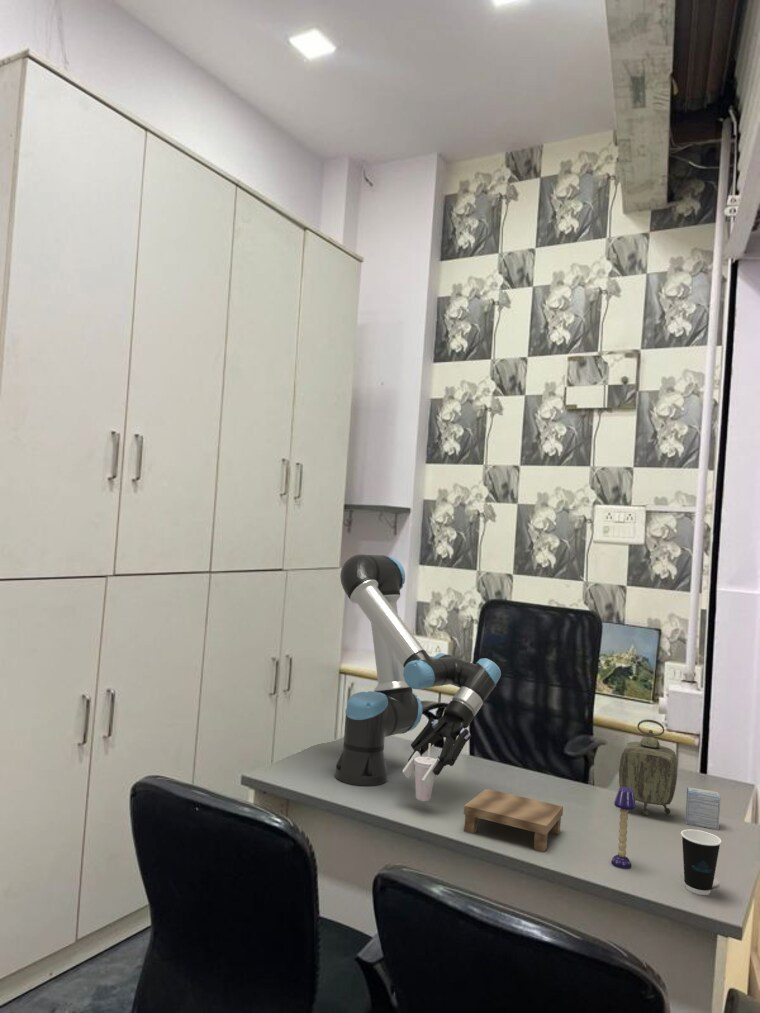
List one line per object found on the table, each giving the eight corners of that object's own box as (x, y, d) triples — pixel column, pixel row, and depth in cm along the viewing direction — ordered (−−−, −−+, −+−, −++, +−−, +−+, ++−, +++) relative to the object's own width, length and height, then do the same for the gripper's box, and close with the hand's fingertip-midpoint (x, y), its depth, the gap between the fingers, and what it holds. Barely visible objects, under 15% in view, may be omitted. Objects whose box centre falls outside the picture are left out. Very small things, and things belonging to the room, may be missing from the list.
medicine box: (717, 825, 197) (719, 791, 198) (718, 830, 193) (720, 796, 193) (685, 819, 200) (687, 786, 200) (686, 824, 195) (688, 791, 196)
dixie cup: (697, 900, 151) (700, 845, 152) (669, 882, 159) (672, 830, 159) (727, 896, 154) (730, 842, 155) (698, 879, 161) (701, 828, 162)
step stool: (462, 830, 178) (464, 805, 179) (484, 812, 192) (485, 788, 193) (544, 852, 169) (546, 826, 169) (561, 831, 183) (563, 806, 184)
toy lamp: (607, 859, 168) (612, 784, 169) (627, 860, 169) (631, 785, 170) (615, 868, 164) (620, 791, 165) (636, 869, 164) (640, 792, 165)
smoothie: (433, 804, 187) (438, 748, 188) (408, 800, 188) (413, 744, 189) (436, 796, 193) (441, 741, 194) (412, 792, 195) (417, 738, 195)
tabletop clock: (675, 814, 203) (680, 721, 204) (673, 824, 195) (678, 728, 196) (619, 802, 209) (625, 712, 210) (615, 812, 201) (621, 718, 202)
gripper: (496, 726, 195) (449, 800, 183) (442, 708, 209) (395, 776, 197) (485, 707, 191) (436, 781, 180) (430, 691, 206) (382, 759, 194)
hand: (415, 778), depth 189 cm, fingers closed on smoothie, 6 cm apart
